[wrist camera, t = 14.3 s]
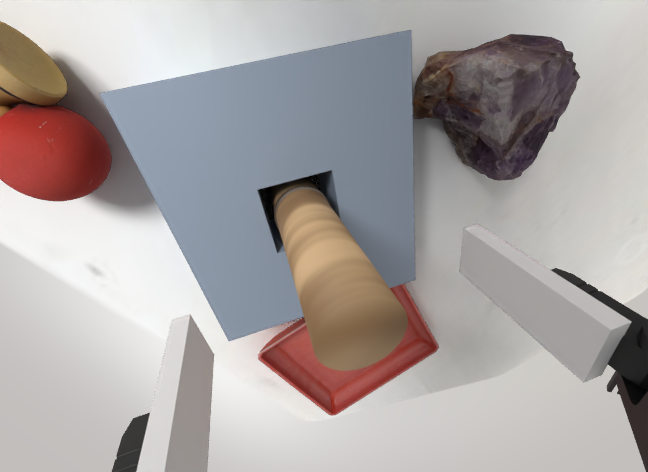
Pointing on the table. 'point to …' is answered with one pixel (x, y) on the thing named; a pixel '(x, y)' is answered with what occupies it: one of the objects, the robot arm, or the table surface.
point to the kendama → (44, 127)
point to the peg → (335, 281)
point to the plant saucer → (349, 386)
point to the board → (277, 165)
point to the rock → (498, 99)
